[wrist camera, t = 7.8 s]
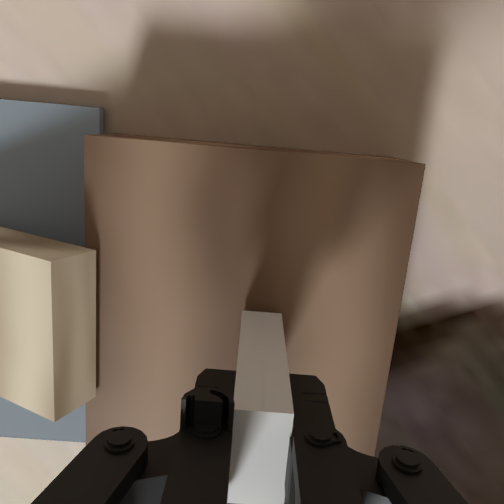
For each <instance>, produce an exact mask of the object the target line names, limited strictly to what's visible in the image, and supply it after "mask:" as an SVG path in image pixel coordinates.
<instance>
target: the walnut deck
mask: <svg viewBox="0 0 504 504" xmlns="http://www.w3.org/2000/svg"><path fill="white" fill-rule="evenodd" d="M424 170H425V164H421V163H416V162H411V161H406V160H401V159H396V158H390V157H379V156H367V155H356V154H344V153H332V152H321V151H309V150H298V149H286V148H275V147H263V146H252V145H240V144H229V143H217V142H205V141H194V140H182V139H171V138H159V137H148V136H136V135H125V134H93V135H84V227H85V248H89V249H93V250H96V397H94V398H93V399H91V400H90V401H88V402H86V403H85V404H86V445H87V444H88V443H89V442H90V441H91V440H92V439H93V438H94V437H95V436H97V435H98V434H99V433H101V432H102V431H105V430H107V429H110V428H113V427H121V426H126V427H134V428H136V429H139V430H141V431H142V432H143V433H144V434H145V435H146V436H147V440H148V441H154V440H160V439H164V438H168V437H170V436H173V435H175V434H176V433H178V432H179V430H180V415H181V399H182V397H183V396H184V394H185V393H187V392H188V391H190V390H192V389H194V387H195V383H196V379H197V376H198V375H199V374H200V373H201V372H202V371H203V370H205V369H206V368H208V369H221V370H234V371H236V369H237V359H238V349H239V338H240V328H241V317H242V310H243V311H256V312H269V313H282V321H283V329H284V337H285V345H286V353H287V361H288V369H289V374H302V375H315V376H317V377H318V379H319V380H320V381H321V382H322V383H323V384H324V385H325V389H326V393H327V397H328V401H329V405H330V409H331V412H332V416H333V420H334V424H335V428H336V429H337V430H338V431H339V432H340V433H342V434H343V436H344V438H345V439H346V442H347V445H348V447H350V448H352V449H353V450H355V451H358V452H360V453H363V454H366V455H369V456H373V457H374V454H375V448H376V443H377V437H378V431H379V426H380V420H381V414H382V409H383V403H384V397H385V392H386V386H387V380H388V374H389V369H390V363H391V357H392V352H393V346H394V340H395V335H396V329H397V323H398V318H399V312H400V306H401V301H402V295H403V289H404V284H405V278H406V272H407V266H408V261H409V255H410V249H411V244H412V238H413V232H414V227H415V221H416V215H417V210H418V204H419V198H420V193H421V187H422V181H423V175H424Z"/></svg>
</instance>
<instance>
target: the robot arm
mask: <svg viewBox="0 0 504 504" xmlns="http://www.w3.org/2000/svg"><path fill="white" fill-rule="evenodd" d="M284 500H286V504H468V503H467V502H466V500H465V499H464V498H463V497H462V496H461V495H460V493H459V492H458V491H457V490H456V489H455V488H454V486H453V485H452V484H451V483H450V482H449V481H448V479H447V478H446V477H445V476H444V475H443V474H442V472H441V471H440V470H439V469H438V468H437V467H436V465H435V464H434V463H433V462H432V461H431V460H430V459H429V458H428V457H427V456H425V455H424V454H423V453H421V452H419V451H417V450H415V449H412V448H409V447H405V446H395V445H392V446H389V447H385V448H384V449H382V450H381V451H380V452H379V458H376V457H373V456H369V455H366V454H363V453H360V452H358V451H355V450H353V449H352V448H350V447H348V445H347V442H346V439H345V438H344V436H343V434H342V433H340V432H339V431H338V430H337V429H336V428H335V424H334V420H333V416H332V412H331V409H330V405H329V401H328V397H327V393H326V389H325V385H324V384H323V383H322V382H321V381H320V380H319V379H318V377H317V376H315V375H302V374H289V369H288V361H287V353H286V345H285V337H284V329H283V321H282V313H269V312H256V311H243V310H242V317H241V328H240V338H239V349H238V359H237V369H236V371H234V370H221V369H208V368H206V369H205V370H203V371H202V372H201V373H200V374H199V375H198V376H197V379H196V383H195V387H194V389H192V390H190V391H188V392H187V393H185V394H184V396H183V397H182V399H181V415H180V430H179V432H178V433H176V434H175V435H173V436H170V437H168V438H164V439H160V440H154V441H148V440H147V436H146V435H145V434H144V433H143V432H142V431H141V430H139V429H136V428H134V427H126V426H121V427H113V428H110V429H107V430H105V431H102V432H101V433H99V434H98V435H97V436H95V437H94V438H93V439H92V440H91V441H90V442H89V443H88V444H87V445H86V447H85V448H84V449H83V450H82V451H81V452H80V453H79V454H78V455H77V456H76V457H75V458H74V459H73V460H72V461H71V462H70V463H69V464H68V465H67V466H66V467H65V469H64V470H63V471H62V472H61V473H60V474H59V475H58V476H57V477H56V478H55V479H54V480H53V481H52V482H51V483H50V484H49V485H48V486H47V487H46V488H45V489H44V491H43V492H42V493H41V494H40V495H39V496H38V497H37V498H36V499H35V500H34V501H33V502H32V503H31V504H227V503H234V504H284Z"/></svg>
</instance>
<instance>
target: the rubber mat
mask: <svg viewBox="0 0 504 504" xmlns="http://www.w3.org/2000/svg"><path fill="white" fill-rule="evenodd" d="M93 134H104V108H97V107H85V106H74V105H63V104H51V103H40V102H29V101H17V100H6V99H0V227H4V228H8V229H12V230H16V231H20V232H24V233H29V234H33V235H37V236H41V237H45V238H49V239H53V240H57V241H61V242H65V243H69V244H73V245H77V246H81V247H85V227H84V135H93ZM0 437H12V438H27V439H42V440H57V441H72V442H86V404H83V405H82V406H80V407H78V408H77V409H75V410H74V411H72V412H70V413H69V414H67V415H66V416H64V417H62V418H61V419H59V420H57V421H56V422H53V421H51V420H49V419H47V418H44V417H42V416H40V415H38V414H36V413H34V412H32V411H30V410H27V409H25V408H23V407H21V406H19V405H17V404H15V403H13V402H11V401H8V400H6V399H4V398H2V397H0Z"/></svg>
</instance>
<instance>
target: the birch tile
mask: <svg viewBox="0 0 504 504" xmlns="http://www.w3.org/2000/svg"><path fill="white" fill-rule="evenodd" d="M0 397H2V398H4V399H6V400H8V401H11V402H13V403H15V404H17V405H19V406H21V407H23V408H25V409H27V410H30V411H32V412H34V413H36V414H38V415H40V416H42V417H44V418H47V419H49V420H51V421H53V422H56V421H57V420H59V419H61V418H62V417H64V416H66V415H67V414H69V413H70V412H72V411H74V410H75V409H77V408H78V407H80V406H82V405H83V404H85V403H86V402H88V401H90V400H91V399H93V398H94V397H96V250H93V249H89V248H85V247H81V246H77V245H73V244H69V243H65V242H61V241H57V240H53V239H49V238H45V237H41V236H37V235H33V234H29V233H24V232H20V231H16V230H12V229H8V228H4V227H0Z"/></svg>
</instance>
